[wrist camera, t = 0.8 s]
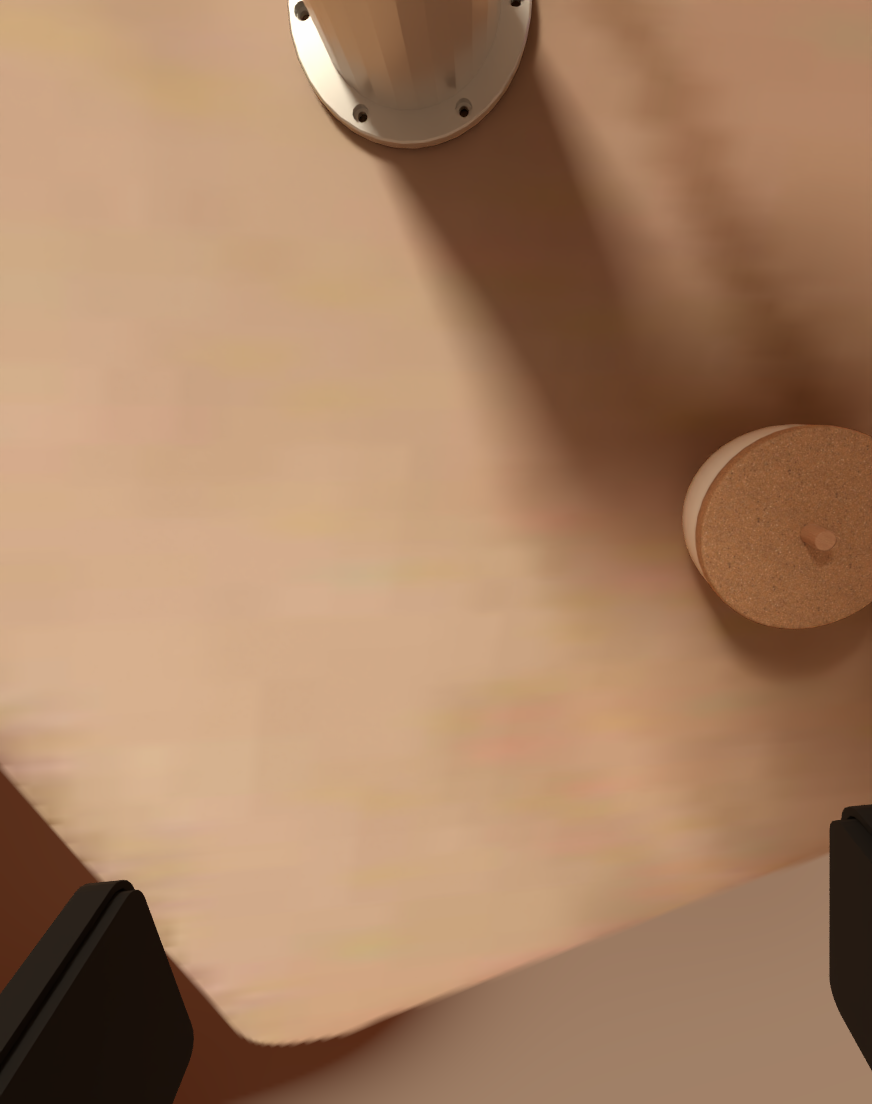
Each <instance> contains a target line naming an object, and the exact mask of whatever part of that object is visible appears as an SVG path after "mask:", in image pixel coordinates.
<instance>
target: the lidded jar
mask: <svg viewBox="0 0 872 1104" xmlns="http://www.w3.org/2000/svg"><path fill="white" fill-rule="evenodd" d="M682 528H683V533H684V538H685V543H686V546H687V549H688V551H689V554H690V557H691V559H692V560H693V562H694V564H695V565H696V567H697V569H698V570H699V572H700V574H701V575H702V576H703V577H704V579H705V580H706V581H707V582H708V583H709V585H710V586H711V588H712V589H713V590H714V591H715V593H716V594H717V595H718V596H719V597H720V598H721V599H722V600H723V601H724V602H725V603H726V604H727V605H728V606H730V607H731V608H732V609H733V610H735V611H736V612H737V613H739V614H740V615H742V616H744V617H746V618H748V619H749V620H751V621H754V622H757V623H760V624H762V625H765V626H770V627H775V628H781V629H805V628H814V627H818V626H823V625H827V624H831V623H833V622H836V621H838V620H841V619H844V618H846V617H848V616H850V615H852V614H854V613H855V612H857V611H859V610H861V609H862V608H864V607H865V606H866V605H868V604H869V603H871V602H872V437H871V436H869V435H866V434H864V433H861V432H858V431H856V430H853V429H848V428H843V427H838V426H832V425H807V424H787V425H778V426H770V427H765V428H762V429H758V430H754V431H751V432H748V433H746V434H744V435H741V436H739V437H737V438H735V439H733V440H731V441H730V442H728V443H726V444H725V445H723V446H722V447H720V448H719V449H718V450H717V451H716V452H714V453H713V454H712V455H711V456H710V457H709V458H708V459H707V460H706V461H705V463H704V464H703V465H702V466H701V467H700V469H699V470H698V472H697V473H696V475H695V476H694V478H693V480H692V482H691V484H690V486H689V488H688V491H687V494H686V497H685V501H684V505H683V513H682Z"/></svg>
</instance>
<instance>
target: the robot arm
mask: <svg viewBox="0 0 872 1104" xmlns="http://www.w3.org/2000/svg"><path fill="white" fill-rule="evenodd" d="M513 1H518V2H519V3H520V6H518V7H514V6H512V5H511V3H512V2H513ZM287 7H288V16H289V24H290V33H291V37H292V40H293V44H294V47H295V51H296V54H297V58H298V60H299V62H300V64H301V67H302V69H303V71H304V73H305V75H306V77H307V79H308V81H309V83H310V85H311V86H312V88H313V90H314V91H315V93H316V95H317V96H318V98H319V99H320V100H321V102H322V103H323V104H324V105H325V106H326V107H327V109H328V110H329V111H330V112H331V113H332V115H333V116H334V117H335V118H336V119H338V120H339V121H340V122H341V123H343V124H344V125H345V126H346V127H348V128H349V129H350V130H351V131H353V132H355V133H357V134H358V135H360V136H362V137H364V138H366V139H368V140H370V141H372V142H375V143H379V144H382V145H386V146H390V147H394V148H412V149H416V148H422V147H428V146H434V145H438V144H441V143H443V142H446V141H448V140H451V139H453V138H456V137H458V136H459V135H461V134H463V133H464V132H466V131H467V130H469V129H470V128H472V127H473V126H475V125H476V124H478V123H479V122H480V121H481V120H482V119H483V118H484V117H485V116H486V115H487V114H488V113H489V112H490V111H491V110H492V109H493V108H494V107H495V105H496V104H497V103H498V101H499V100H500V99H501V97H502V96H503V94H504V93H505V92H506V90H507V89H508V87H509V85H510V83H511V81H512V79H513V77H514V75H515V73H516V71H517V69H518V67H519V65H520V62H521V58H522V55H523V51H524V48H525V45H526V41H527V37H528V30H529V25H530V19H531V7H532V0H288V3H287ZM304 15H310V17H309V18H308V19H307V20H305V21H302V19H303V17H304ZM462 109H467V110H468V111H469V114H468V115H467V116H466V117H461V116H460V114H459V113H460V111H461V110H462ZM361 115H367V120H366V122H363V123H361V122H359V118H360V116H361ZM830 985H831V990H832V994H833V997H834V1000H835V1002H836V1005H837V1007H838V1010H839V1012H840V1014H841V1016H842V1018H843V1019H844V1021H845V1023H846V1025H847V1027H848V1029H849V1030H850V1032H851V1034H852V1036H853V1038H854V1039H855V1041H856V1043H857V1045H858V1047H859V1048H860V1050H861V1052H862V1054H863V1056H864V1057H865V1059H866V1061H867V1063H868V1065H869V1066H870V1068H871V1070H872V804H871V805H861V806H851V807H846V808H845V809H844V810H843V812H842V818H841V820H836V821H832V823H831V824H830ZM193 1040H194V1036H193V1028H192V1025H191V1022H190V1019H189V1016H188V1014H187V1011H186V1008H185V1006H184V1003H183V1000H182V998H181V995H180V992H179V989H178V987H177V984H176V981H175V978H174V976H173V973H172V970H171V967H170V965H169V962H168V959H167V957H166V954H165V951H164V948H163V946H162V943H161V940H160V937H159V935H158V932H157V929H156V927H155V924H154V921H153V918H152V916H151V913H150V910H149V908H148V905H147V902H146V899H145V897H144V895H143V893H142V892H141V891H139V890H135V889H134V887H133V886H132V884H131V883H130V882H128V881H127V880H119V881H109V882H99V883H89V884H85V885H83V886H82V887H80V888H79V889H78V890H77V891H76V892H75V893H74V895H73V896H72V898H71V899H70V900H69V902H68V903H67V904H66V906H65V907H64V909H63V910H62V911H61V913H60V914H59V915H58V917H57V918H56V920H55V921H54V922H53V923H52V925H51V926H50V927H49V929H48V930H47V932H46V933H45V934H44V936H43V937H42V938H41V940H40V941H39V943H38V944H37V945H36V946H35V948H34V949H33V951H32V952H31V953H30V955H29V956H28V957H27V959H26V960H25V961H24V963H23V964H22V965H21V967H20V968H19V969H18V971H17V972H16V974H15V975H14V977H13V978H12V979H11V980H10V982H9V983H8V984H7V986H6V987H5V988H4V990H3V991H2V993H1V994H0V1104H172V1103H173V1101H174V1098H175V1096H176V1093H177V1091H178V1088H179V1086H180V1083H181V1081H182V1078H183V1076H184V1073H185V1071H186V1068H187V1066H188V1063H189V1061H190V1057H191V1054H192V1049H193Z"/></svg>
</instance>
